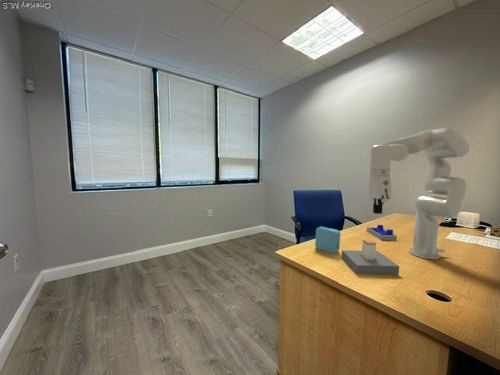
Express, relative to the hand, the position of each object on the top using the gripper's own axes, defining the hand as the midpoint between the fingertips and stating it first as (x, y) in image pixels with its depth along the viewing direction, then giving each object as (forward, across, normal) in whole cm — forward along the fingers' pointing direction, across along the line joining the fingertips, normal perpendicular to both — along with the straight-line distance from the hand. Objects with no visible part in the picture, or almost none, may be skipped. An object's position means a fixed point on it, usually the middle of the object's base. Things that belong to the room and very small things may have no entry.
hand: (377, 213), depth 96 cm
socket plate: (+25, 0, +3) cm, 26 cm away
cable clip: (+27, +44, -30) cm, 60 cm away
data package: (+25, +18, +16) cm, 35 cm away
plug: (+25, 0, +3) cm, 26 cm away
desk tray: (+27, +44, -28) cm, 59 cm away
